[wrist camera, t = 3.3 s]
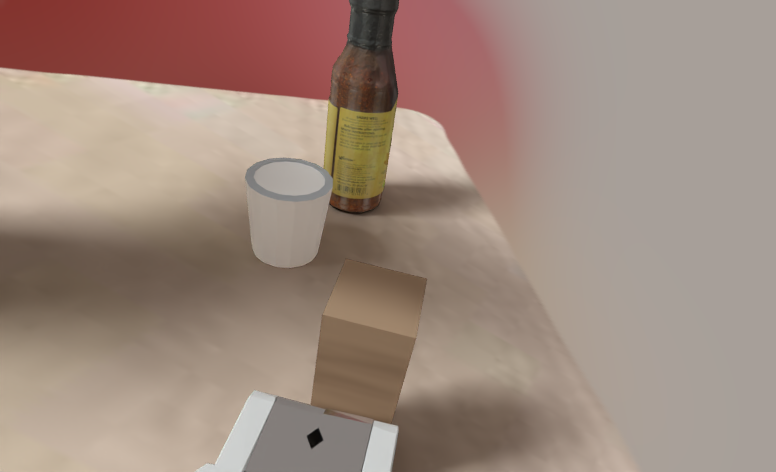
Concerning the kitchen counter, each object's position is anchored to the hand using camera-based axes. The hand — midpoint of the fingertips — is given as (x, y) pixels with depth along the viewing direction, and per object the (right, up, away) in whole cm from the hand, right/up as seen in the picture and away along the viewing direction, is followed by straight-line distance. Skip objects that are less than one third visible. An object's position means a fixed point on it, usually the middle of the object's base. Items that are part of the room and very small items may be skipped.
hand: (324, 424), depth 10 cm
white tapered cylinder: (-8, +3, +33) cm, 34 cm away
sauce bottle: (-3, +8, +42) cm, 42 cm away
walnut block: (-1, -8, +19) cm, 21 cm away
